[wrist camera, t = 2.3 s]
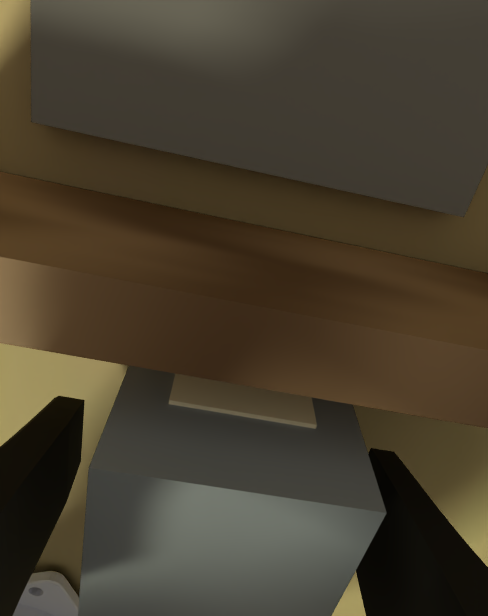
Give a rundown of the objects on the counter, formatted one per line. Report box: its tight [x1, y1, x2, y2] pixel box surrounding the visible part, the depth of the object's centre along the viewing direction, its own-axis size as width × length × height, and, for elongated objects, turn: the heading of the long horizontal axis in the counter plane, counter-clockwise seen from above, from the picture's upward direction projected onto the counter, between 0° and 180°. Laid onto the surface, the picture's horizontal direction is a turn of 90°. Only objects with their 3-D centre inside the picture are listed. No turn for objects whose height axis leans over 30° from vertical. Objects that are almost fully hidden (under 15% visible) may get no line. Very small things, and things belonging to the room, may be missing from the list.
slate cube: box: [78, 366, 387, 616], centre depth 11 cm, size 5×5×5 cm
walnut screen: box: [0, 172, 488, 428], centre depth 9 cm, size 14×2×4 cm, turn 78°
